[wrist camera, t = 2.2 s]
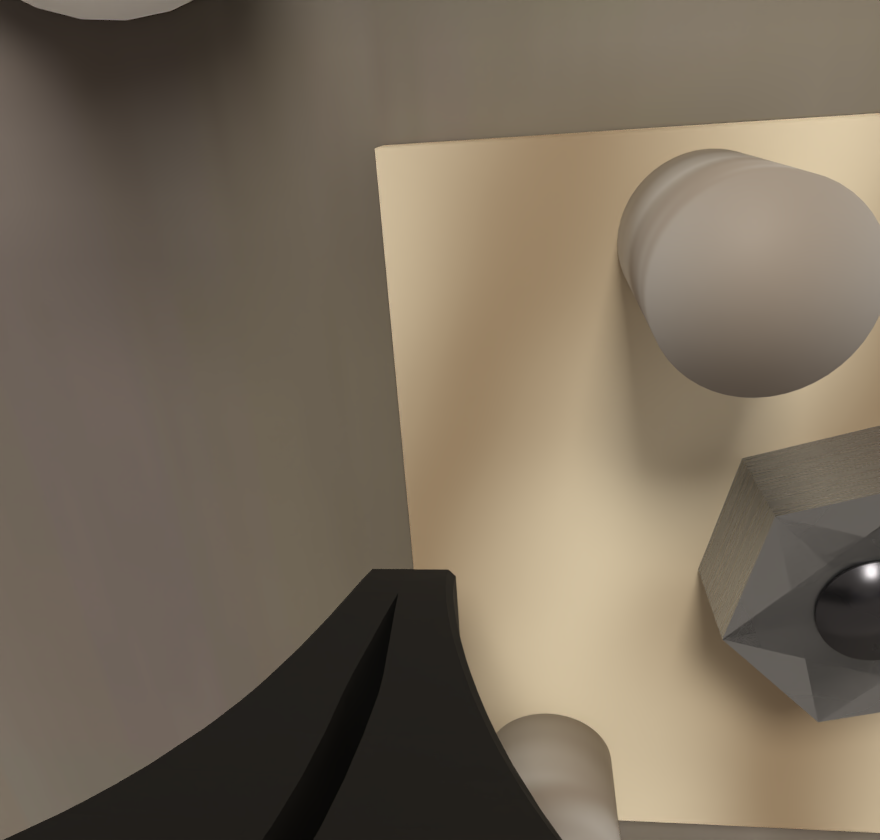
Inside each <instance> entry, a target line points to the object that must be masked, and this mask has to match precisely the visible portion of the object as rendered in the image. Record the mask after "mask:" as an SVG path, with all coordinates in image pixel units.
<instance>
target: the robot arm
mask: <svg viewBox="0 0 880 840" xmlns="http://www.w3.org/2000/svg"><path fill="white" fill-rule="evenodd" d="M4 840H562V839H561V837H560V836H559V834H558V833H557V832H556V830H555V829H554V827H553V826H552V825H551V823H550V822H549V820H548V819H547V818H546V816H545V815H544V813H543V812H542V811H541V809H540V808H539V806H538V804H537V803H536V801H535V800H534V798H533V796H532V795H531V793H530V791H529V790H528V788H527V787H526V785H525V783H524V782H523V780H522V779H521V777H520V775H519V774H518V772H517V771H516V769H515V767H514V766H513V764H512V762H511V760H510V759H509V757H508V755H507V753H506V751H505V749H504V747H503V745H502V743H501V742H500V740H499V738H498V736H497V734H496V732H495V729H494V727H493V725H492V723H491V721H490V719H489V717H488V715H487V712H486V710H485V708H484V706H483V703H482V701H481V698H480V696H479V693H478V691H477V688H476V685H475V683H474V680H473V677H472V675H471V672H470V669H469V666H468V663H467V660H466V657H465V653H464V649H463V646H462V642H461V638H460V629H459V615H458V600H457V586H456V576H455V575H454V574H453V573H452V572H451V571H450V570H447V569H372V570H371V571H370V572H369V573H368V574H367V575H366V576H365V577H364V578H363V579H362V581H361V582H360V583H359V584H358V585H357V586H356V587H355V588H354V589H353V591H352V592H351V593H350V594H349V595H348V596H347V597H346V598H345V600H344V601H343V602H342V603H341V604H340V605H339V606H338V607H337V608H336V610H335V611H334V612H333V613H332V614H331V615H330V616H329V617H328V618H327V619H326V620H325V622H324V623H323V624H322V625H321V626H320V627H319V628H318V629H317V630H316V631H315V632H314V633H313V634H312V635H311V636H310V637H309V638H308V639H307V640H306V641H305V642H304V643H303V644H302V645H301V646H300V647H299V648H298V649H297V650H296V651H295V652H294V653H293V654H292V655H291V656H290V657H289V658H288V659H287V660H286V661H285V662H284V663H283V664H282V665H281V666H279V667H278V668H277V669H276V670H275V671H274V672H273V673H272V674H271V675H270V676H269V677H268V678H267V679H266V680H264V681H263V682H262V683H261V684H260V685H259V686H258V687H257V688H255V689H254V690H253V691H252V692H251V693H249V694H248V695H247V696H246V697H245V698H243V699H242V700H241V701H240V702H238V703H237V704H236V705H234V706H233V707H232V708H231V709H229V710H228V711H227V712H225V713H224V714H223V715H221V716H220V717H219V718H218V719H216V720H215V721H214V722H212V723H211V724H209V725H208V726H207V727H205V728H204V729H202V730H201V731H199V732H198V733H196V734H195V735H193V736H192V737H190V738H189V739H187V740H186V741H184V742H183V743H181V744H180V745H178V746H177V747H175V748H174V749H172V750H171V751H169V752H168V753H166V754H165V755H163V756H162V757H160V758H159V759H157V760H156V761H154V762H153V763H151V764H149V765H148V766H146V767H144V768H143V769H141V770H139V771H138V772H136V773H134V774H132V775H131V776H129V777H127V778H126V779H124V780H122V781H120V782H119V783H117V784H115V785H113V786H112V787H110V788H108V789H106V790H104V791H102V792H100V793H99V794H97V795H95V796H93V797H91V798H89V799H87V800H86V801H84V802H82V803H80V804H78V805H76V806H74V807H72V808H70V809H68V810H66V811H64V812H62V813H60V814H58V815H56V816H54V817H52V818H49V819H47V820H45V821H43V822H41V823H39V824H37V825H34V826H32V827H30V828H28V829H26V830H24V831H22V832H19V833H17V834H15V835H13V836H11V837H9V838H6V839H4Z"/></svg>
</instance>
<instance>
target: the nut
mask: <svg viewBox="0 0 880 840" xmlns="http://www.w3.org/2000/svg"><path fill="white" fill-rule="evenodd" d="M698 570H699V573H700V576H701V579H702V582H703V585H704V588H705V591H706V594H707V596H708V599H709V602H710V605H711V608H712V611H713V614H714V617H715V620H716V623H717V626H718V629H719V631H720V634H721V637H722V640H724V641H725V642H726V643H727V644H728V645H729V646H730V647H732V648H733V649H734V650H735V651H736V652H737V653H739V654H740V655H741V656H742V657H743V658H744V659H746V660H747V661H748V662H749V663H750V664H751V665H752V666H754V667H755V668H756V669H757V670H758V671H759V672H761V673H762V674H763V675H764V676H765V677H766V678H768V679H769V680H770V681H771V682H772V683H773V684H774V685H776V686H777V687H778V688H779V689H780V690H781V691H783V692H784V693H785V694H786V695H787V696H788V697H790V698H791V699H792V700H793V701H794V702H795V703H796V704H798V705H799V706H800V707H801V708H802V709H803V710H805V711H806V712H807V713H808V714H809V715H810V716H812V717H813V718H814V719H815V720H816V721H817V722H823V721H829V720H836V719H842V718H848V717H854V716H860V715H867V714H873V713H879V712H880V426H876V427H871V428H867V429H863V430H859V431H855V432H850V433H846V434H842V435H838V436H834V437H829V438H825V439H821V440H817V441H813V442H808V443H804V444H800V445H796V446H792V447H787V448H783V449H779V450H775V451H771V452H766V453H762V454H758V455H754V456H750V457H745V458H742V460H741V462H740V465H739V467H738V470H737V472H736V475H735V477H734V480H733V482H732V485H731V487H730V490H729V493H728V495H727V498H726V500H725V503H724V505H723V508H722V510H721V513H720V515H719V518H718V520H717V523H716V525H715V528H714V530H713V533H712V535H711V538H710V540H709V543H708V545H707V548H706V550H705V553H704V555H703V558H702V560H701V563H700V565H699V568H698Z"/></svg>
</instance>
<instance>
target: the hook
mask: <svg viewBox="0 0 880 840" xmlns="http://www.w3.org/2000/svg"><path fill="white" fill-rule="evenodd" d="M22 1H24V2H26V3H28V4H30V5H32V6H34V7H36V8H39V9H43V10H47V11H51V12H55V13H59V14H63V15H67V16H71V17H75V18H78V19H89V20H131V19H136V18H140V17H145V16H150V15H155V14H159V13H164V12H169V11H172V10H174V9H176V8H178V7H180V6H182V5H184V4H187V3H189V2H191V1H193V0H22Z"/></svg>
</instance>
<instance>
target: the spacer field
mask: <svg viewBox="0 0 880 840" xmlns="http://www.w3.org/2000/svg"><path fill="white" fill-rule="evenodd" d="M375 155H376V166H377V177H378V188H379V198H380V209H381V220H382V231H383V241H384V252H385V263H386V274H387V285H388V295H389V306H390V317H391V328H392V339H393V349H394V360H395V371H396V382H397V393H398V403H399V414H400V425H401V436H402V447H403V457H404V468H405V479H406V490H407V500H408V511H409V522H410V533H411V544H412V554H413V565H414V569H447V570H450V571H451V572H452V573H453V574H454V575H455V576H456V586H457V600H458V615H459V629H460V638H461V642H462V646H463V649H464V653H465V657H466V660H467V663H468V666H469V669H470V672H471V675H472V677H473V680H474V683H475V685H476V688H477V691H478V693H479V696H480V698H481V701H482V703H483V706H484V708H485V710H486V712H487V715H488V717H489V719H490V721H491V723H492V725H493V727H494V729H495V732H496V734H497V736H498V738H499V740H500V742H501V743H502V745H503V747H504V749H505V751H506V753H507V755H508V757H509V759H510V760H511V762H512V764H513V766H514V767H515V769H516V771H517V772H518V774H519V775H520V777H521V779H522V780H523V782H524V783H525V785H526V787H527V788H528V790H529V791H530V793H531V795H532V796H533V798H534V800H535V801H536V803H537V804H538V806H539V808H540V809H541V811H542V812H543V813H544V815H545V816H546V818H547V819H548V820H549V822H550V823H551V825H552V826H553V827H554V829H555V830H556V832H557V833H558V834H559V836H560V837H561V839H562V840H620V832H619V824H618V820H625V821H646V822H667V823H687V824H708V825H729V826H749V827H770V828H791V829H811V830H832V831H853V832H873V833H880V712H879V713H873V714H867V715H860V716H854V717H848V718H842V719H836V720H829V721H823V722H817V721H816V720H815V719H814V718H813V717H812V716H810V715H809V714H808V713H807V712H806V711H805V710H803V709H802V708H801V707H800V706H799V705H798V704H796V703H795V702H794V701H793V700H792V699H791V698H790V697H788V696H787V695H786V694H785V693H784V692H783V691H781V690H780V689H779V688H778V687H777V686H776V685H774V684H773V683H772V682H771V681H770V680H769V679H768V678H766V677H765V676H764V675H763V674H762V673H761V672H759V671H758V670H757V669H756V668H755V667H754V666H752V665H751V664H750V663H749V662H748V661H747V660H746V659H744V658H743V657H742V656H741V655H740V654H739V653H737V652H736V651H735V650H734V649H733V648H732V647H730V646H729V645H728V644H727V643H726V642H725V641H724V640H722V637H721V634H720V631H719V629H718V626H717V623H716V620H715V617H714V614H713V611H712V608H711V605H710V602H709V599H708V596H707V594H706V591H705V588H704V585H703V582H702V579H701V576H700V573H699V570H698V568H699V565H700V563H701V560H702V558H703V555H704V553H705V550H706V548H707V545H708V543H709V540H710V538H711V535H712V533H713V530H714V528H715V525H716V523H717V520H718V518H719V515H720V513H721V510H722V508H723V505H724V503H725V500H726V498H727V495H728V493H729V490H730V487H731V485H732V482H733V480H734V477H735V475H736V472H737V470H738V467H739V465H740V462H741V460H742V458H745V457H750V456H754V455H758V454H762V453H766V452H771V451H775V450H779V449H783V448H787V447H792V446H796V445H800V444H804V443H808V442H813V441H817V440H821V439H825V438H829V437H834V436H838V435H842V434H846V433H850V432H855V431H859V430H863V429H867V428H871V427H876V426H880V113H876V114H860V115H845V116H829V117H814V118H798V119H783V120H768V121H752V122H737V123H721V124H706V125H690V126H675V127H660V128H644V129H629V130H613V131H598V132H582V133H567V134H552V135H536V136H521V137H505V138H490V139H474V140H459V141H444V142H428V143H413V144H397V145H384V146H381V147H378V148H375Z"/></svg>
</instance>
